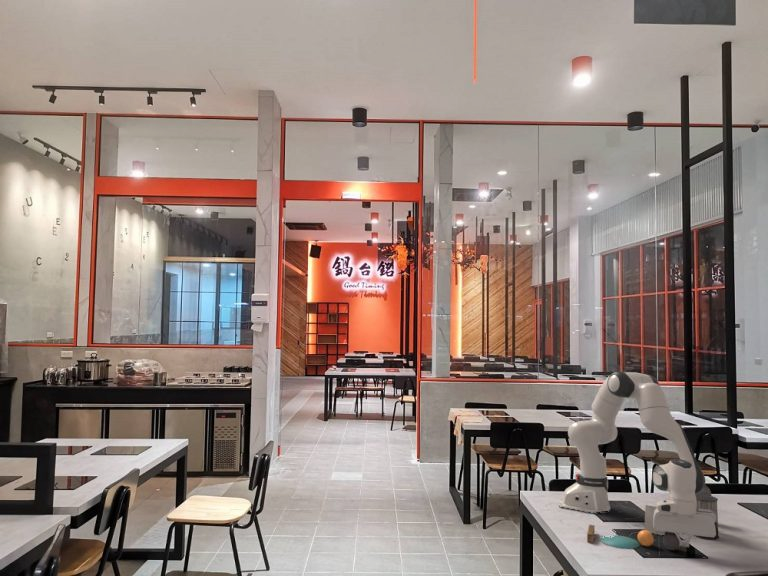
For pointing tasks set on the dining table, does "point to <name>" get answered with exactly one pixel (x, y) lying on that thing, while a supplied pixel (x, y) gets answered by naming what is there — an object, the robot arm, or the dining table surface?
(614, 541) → the teal ellipsoid
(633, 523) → the dining table surface
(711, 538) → the milk frother
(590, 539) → the wall
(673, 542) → the gray ball
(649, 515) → the white carton box
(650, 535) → the orange ball
